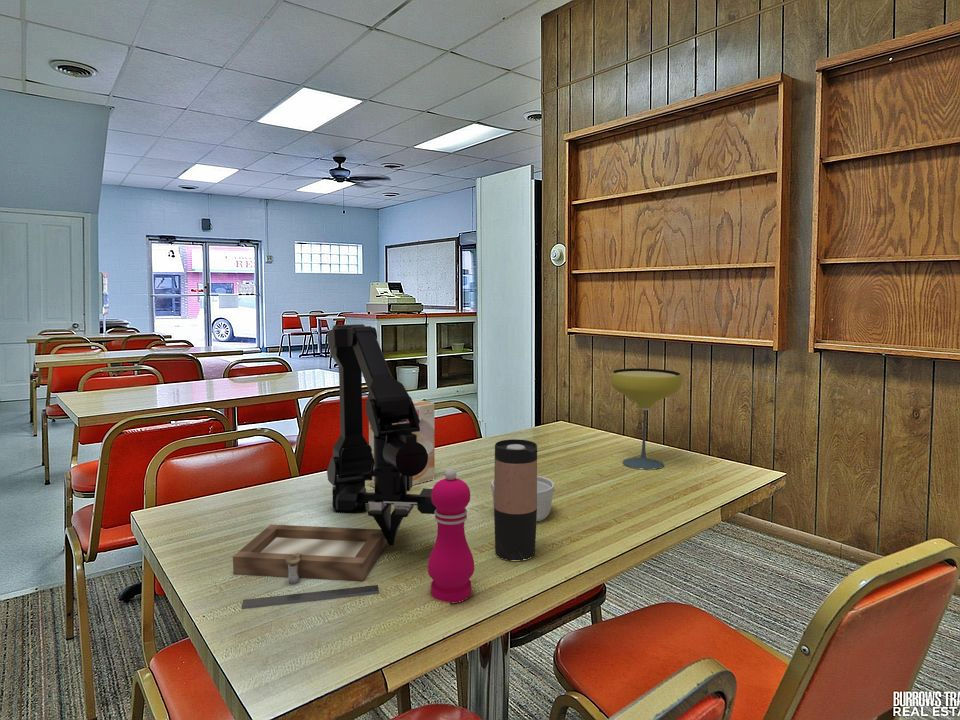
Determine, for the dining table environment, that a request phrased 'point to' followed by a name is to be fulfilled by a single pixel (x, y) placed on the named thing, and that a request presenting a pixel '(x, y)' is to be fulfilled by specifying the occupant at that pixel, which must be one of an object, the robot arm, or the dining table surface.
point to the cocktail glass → (645, 398)
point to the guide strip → (309, 596)
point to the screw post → (293, 573)
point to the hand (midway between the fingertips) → (391, 545)
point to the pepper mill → (450, 541)
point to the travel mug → (515, 498)
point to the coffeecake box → (419, 440)
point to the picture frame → (311, 552)
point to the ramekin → (540, 496)
